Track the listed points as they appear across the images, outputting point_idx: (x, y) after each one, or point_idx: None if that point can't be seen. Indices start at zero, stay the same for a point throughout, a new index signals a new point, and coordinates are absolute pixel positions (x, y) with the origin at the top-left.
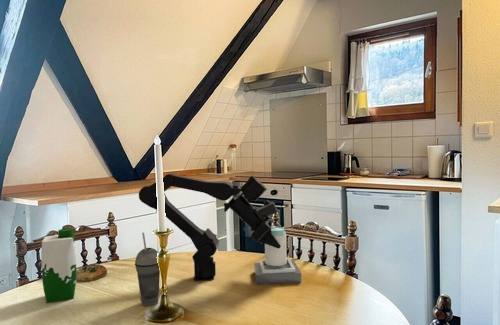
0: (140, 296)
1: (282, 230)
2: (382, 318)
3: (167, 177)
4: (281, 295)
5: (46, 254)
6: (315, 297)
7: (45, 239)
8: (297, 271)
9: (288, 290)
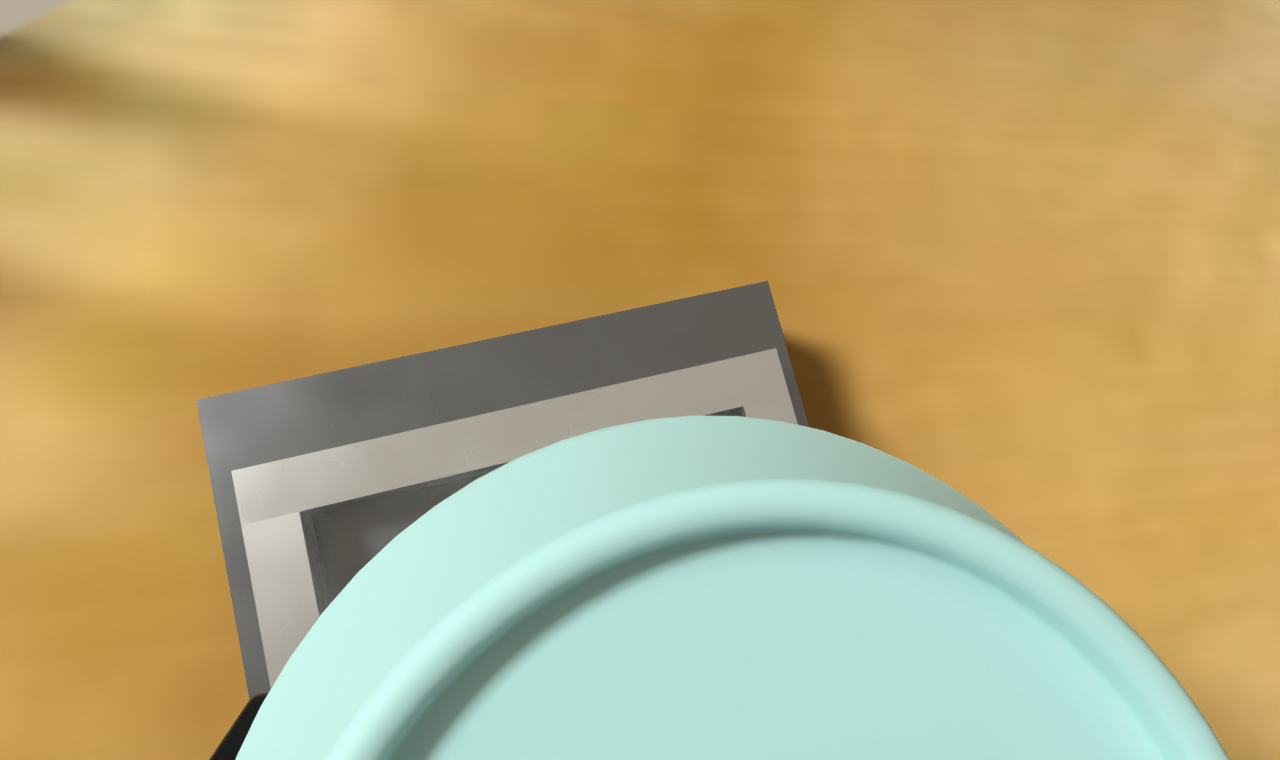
0: None
1: (1002, 544)
2: None
3: None
4: (1137, 518)
5: None
6: (1105, 177)
7: None
8: (712, 332)
9: (993, 453)
